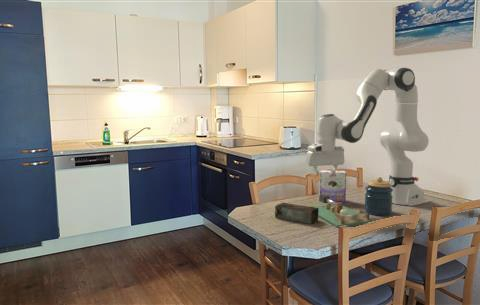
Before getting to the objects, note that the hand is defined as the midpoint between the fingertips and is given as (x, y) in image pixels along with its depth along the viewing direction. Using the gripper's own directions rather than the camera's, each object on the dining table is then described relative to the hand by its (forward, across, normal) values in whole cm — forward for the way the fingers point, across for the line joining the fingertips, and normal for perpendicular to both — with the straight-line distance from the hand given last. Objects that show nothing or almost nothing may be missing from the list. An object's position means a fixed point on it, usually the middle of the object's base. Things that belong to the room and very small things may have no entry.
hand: (324, 174), depth 201 cm
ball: (+15, 0, +18) cm, 23 cm away
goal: (+18, 0, +24) cm, 30 cm away
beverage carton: (+18, +21, +11) cm, 30 cm away
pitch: (+18, 0, +13) cm, 22 cm away
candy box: (+18, -12, -12) cm, 25 cm away
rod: (+16, 0, +6) cm, 17 cm away
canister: (+18, -22, +14) cm, 32 cm away
